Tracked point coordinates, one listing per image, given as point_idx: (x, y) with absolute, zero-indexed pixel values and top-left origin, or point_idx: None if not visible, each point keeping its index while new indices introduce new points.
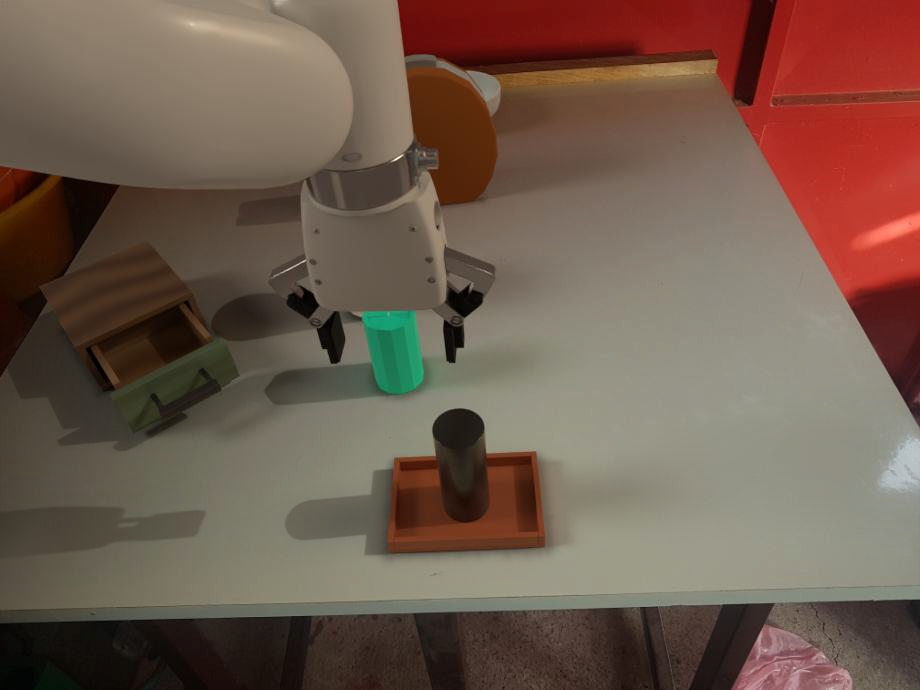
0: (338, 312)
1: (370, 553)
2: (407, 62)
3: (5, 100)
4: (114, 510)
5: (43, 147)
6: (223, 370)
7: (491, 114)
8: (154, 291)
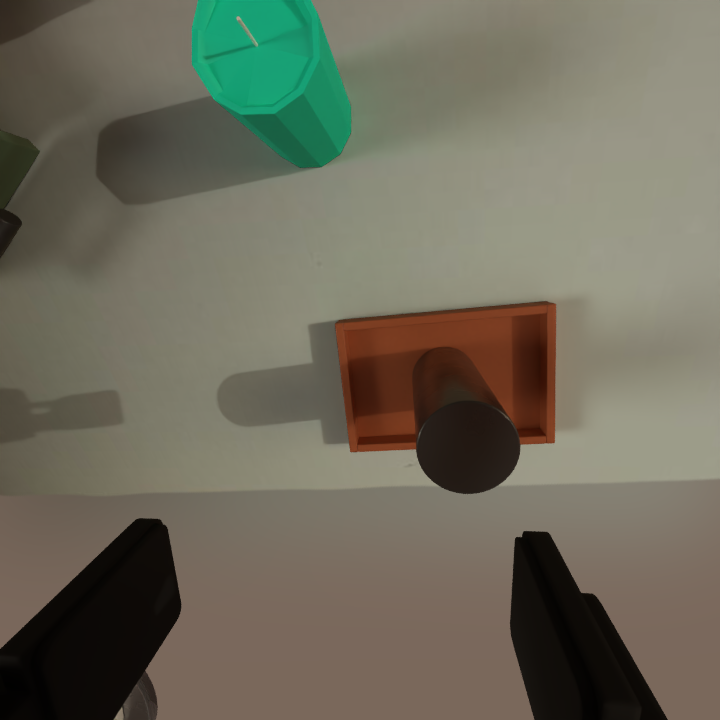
0: (67, 637)
1: (330, 442)
2: None
3: None
4: (13, 392)
5: None
6: (2, 161)
7: None
8: None
